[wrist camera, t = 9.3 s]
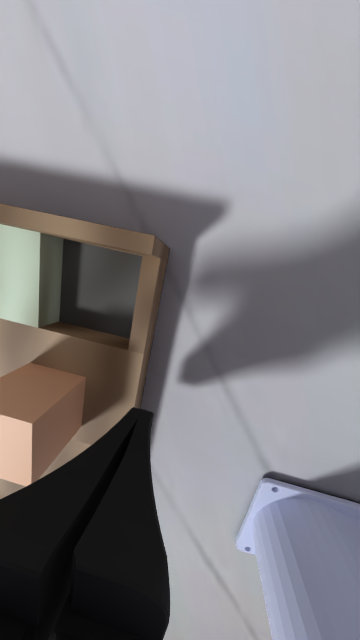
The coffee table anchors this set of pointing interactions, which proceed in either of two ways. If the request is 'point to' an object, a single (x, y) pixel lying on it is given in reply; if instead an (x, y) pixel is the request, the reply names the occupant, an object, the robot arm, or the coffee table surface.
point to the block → (37, 419)
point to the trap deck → (79, 311)
